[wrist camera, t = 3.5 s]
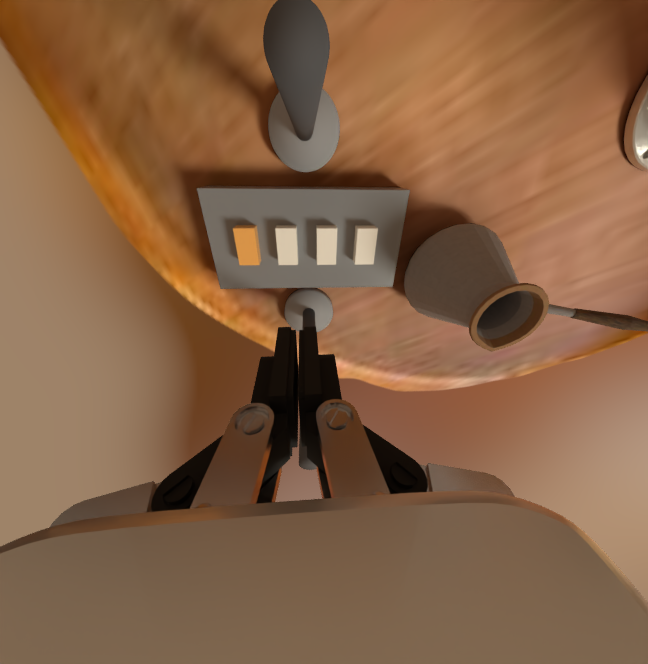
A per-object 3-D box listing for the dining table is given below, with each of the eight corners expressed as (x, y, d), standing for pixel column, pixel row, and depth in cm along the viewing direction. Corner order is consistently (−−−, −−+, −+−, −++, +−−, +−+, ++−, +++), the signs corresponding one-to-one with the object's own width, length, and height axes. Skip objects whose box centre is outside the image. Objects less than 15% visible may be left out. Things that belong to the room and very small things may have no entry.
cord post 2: (332, 287, 33) (363, 432, 15) (331, 328, 36) (354, 483, 19) (283, 287, 32) (255, 437, 15) (286, 329, 36) (267, 488, 18)
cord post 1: (339, 85, 22) (468, -211, 4) (336, 172, 26) (401, 196, 8) (266, 83, 22) (91, -248, 4) (273, 171, 25) (197, 194, 8)
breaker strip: (400, 187, 27) (414, 191, 23) (386, 277, 32) (396, 291, 29) (207, 185, 26) (190, 189, 22) (227, 278, 31) (216, 294, 28)
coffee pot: (388, 305, 35) (434, 386, 22) (409, 215, 28) (489, 257, 16) (532, 309, 36) (648, 386, 24) (582, 225, 30) (776, 270, 18)
